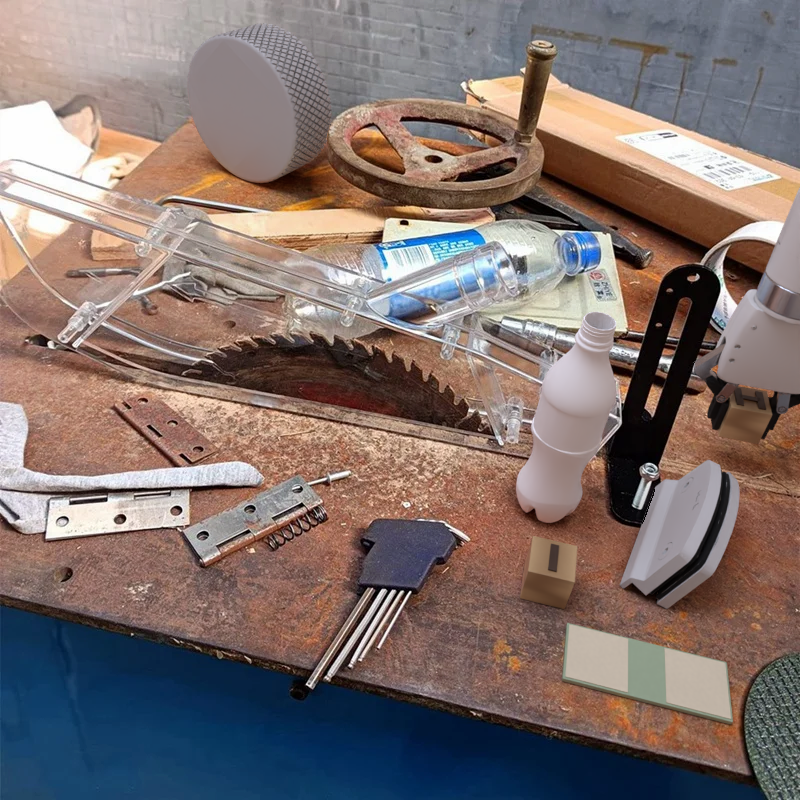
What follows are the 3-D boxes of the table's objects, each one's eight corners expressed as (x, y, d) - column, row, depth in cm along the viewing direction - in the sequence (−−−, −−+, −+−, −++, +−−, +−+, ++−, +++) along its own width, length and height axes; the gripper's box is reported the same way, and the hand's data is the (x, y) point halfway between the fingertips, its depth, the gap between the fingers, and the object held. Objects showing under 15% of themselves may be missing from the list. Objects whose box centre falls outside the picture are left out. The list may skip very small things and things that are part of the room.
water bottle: (570, 483, 88) (631, 302, 71) (580, 531, 82) (648, 347, 66) (509, 478, 87) (555, 295, 71) (515, 527, 82) (566, 341, 66)
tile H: (753, 420, 91) (767, 389, 88) (758, 444, 88) (773, 413, 85) (714, 413, 92) (727, 382, 89) (718, 436, 88) (731, 405, 85)
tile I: (567, 573, 78) (578, 544, 75) (564, 609, 74) (575, 581, 71) (524, 563, 78) (533, 533, 75) (519, 598, 75) (528, 569, 72)
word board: (725, 664, 71) (727, 661, 71) (731, 724, 67) (733, 721, 66) (566, 625, 73) (567, 621, 73) (561, 681, 69) (563, 677, 68)
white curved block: (656, 484, 88) (713, 437, 81) (689, 509, 88) (750, 463, 81) (618, 588, 77) (681, 543, 70) (657, 616, 76) (724, 574, 69)
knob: (330, 183, 142) (333, 41, 126) (296, 201, 135) (294, 54, 119) (229, 145, 151) (219, 9, 135) (192, 161, 144) (178, 19, 128)
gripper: (874, 290, 80) (805, 421, 91) (709, 263, 82) (662, 394, 94) (893, 328, 74) (817, 462, 86) (715, 298, 76) (664, 433, 88)
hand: (737, 425), depth 90 cm, fingers closed on tile H, 4 cm apart
